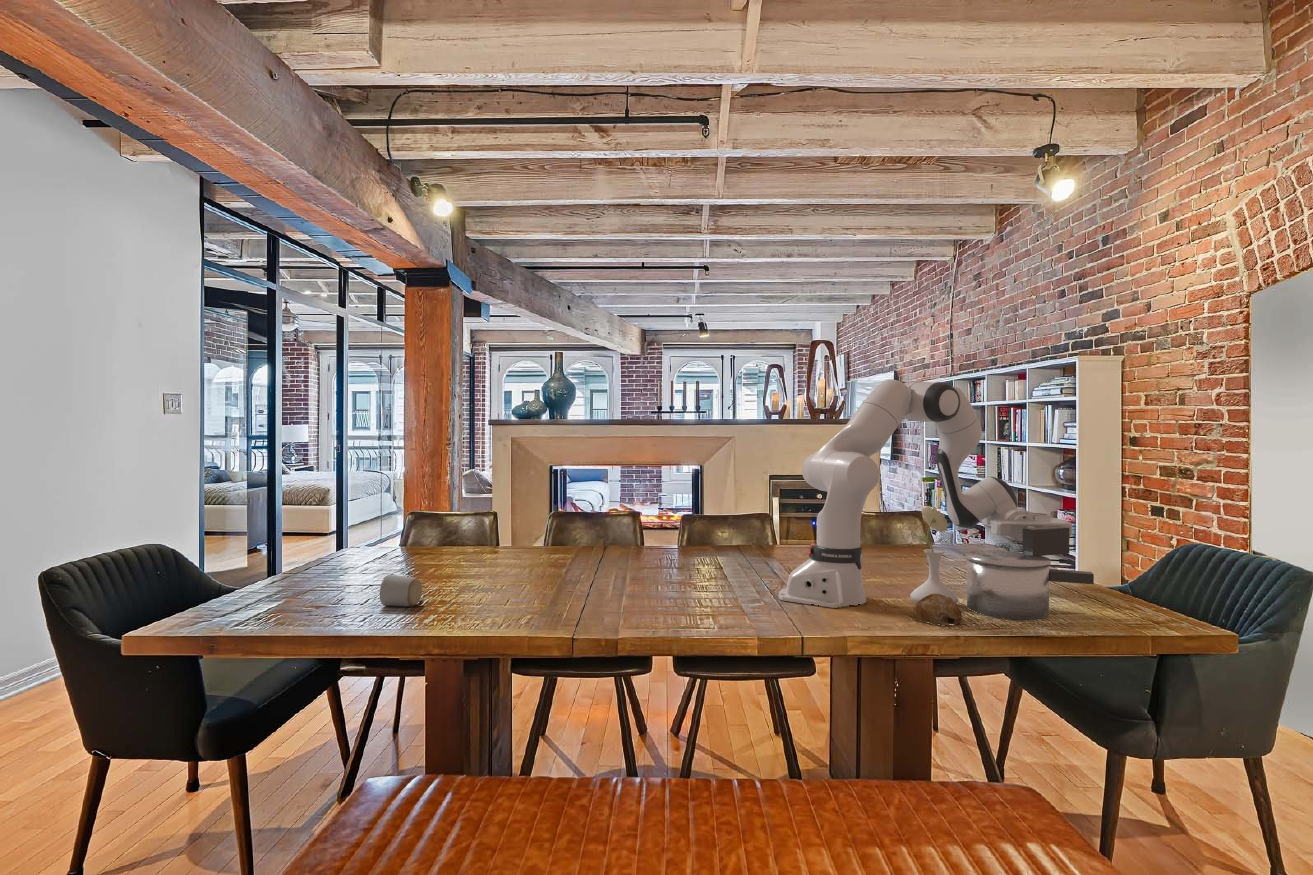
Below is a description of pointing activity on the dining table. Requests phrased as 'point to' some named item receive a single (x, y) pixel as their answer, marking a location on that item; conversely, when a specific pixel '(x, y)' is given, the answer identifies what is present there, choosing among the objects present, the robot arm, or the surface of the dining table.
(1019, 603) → the cooker pot
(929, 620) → the bread roll
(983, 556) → the cooker lid
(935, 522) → the flower in vase
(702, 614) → the dining table surface
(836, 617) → the dining table surface
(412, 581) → the ceramic mug
